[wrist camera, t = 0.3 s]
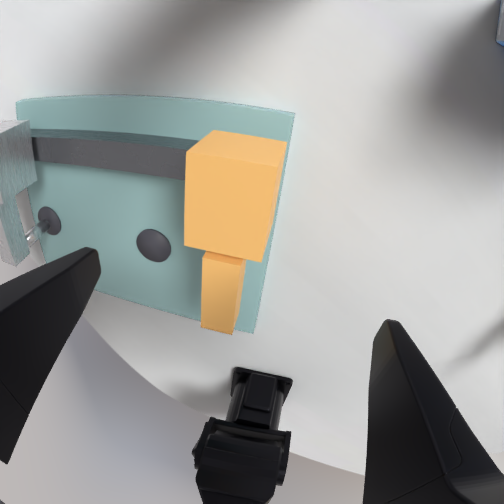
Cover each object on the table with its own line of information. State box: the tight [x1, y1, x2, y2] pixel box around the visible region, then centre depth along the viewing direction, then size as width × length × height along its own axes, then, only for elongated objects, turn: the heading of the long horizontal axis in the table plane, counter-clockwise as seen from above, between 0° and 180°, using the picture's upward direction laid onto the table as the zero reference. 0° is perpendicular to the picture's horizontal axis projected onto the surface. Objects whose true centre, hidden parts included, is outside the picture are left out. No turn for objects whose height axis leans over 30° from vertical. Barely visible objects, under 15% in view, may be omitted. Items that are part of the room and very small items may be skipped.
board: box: [16, 95, 295, 334], centre depth 24 cm, size 19×23×1 cm
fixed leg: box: [0, 120, 50, 266], centre depth 20 cm, size 11×4×6 cm, turn 174°
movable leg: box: [184, 130, 287, 335], centre depth 19 cm, size 11×4×6 cm, turn 174°
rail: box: [30, 129, 199, 181], centre depth 20 cm, size 2×22×2 cm, turn 83°
